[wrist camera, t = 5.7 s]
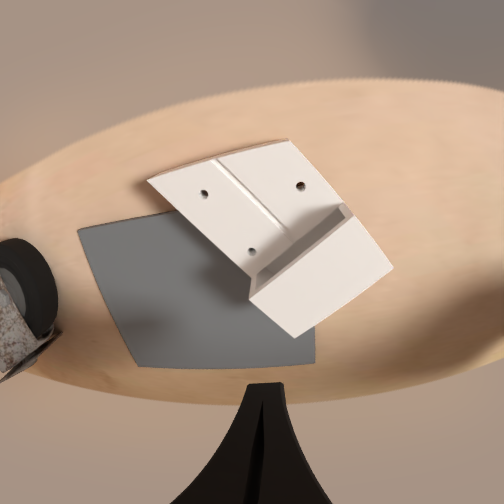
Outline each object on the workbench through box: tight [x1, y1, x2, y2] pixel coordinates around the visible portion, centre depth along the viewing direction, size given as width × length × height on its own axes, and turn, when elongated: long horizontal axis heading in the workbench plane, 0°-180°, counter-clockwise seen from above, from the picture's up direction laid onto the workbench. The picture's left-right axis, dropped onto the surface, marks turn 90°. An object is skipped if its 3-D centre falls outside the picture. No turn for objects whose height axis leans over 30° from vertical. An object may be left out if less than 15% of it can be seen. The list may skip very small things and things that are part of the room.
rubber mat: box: [78, 210, 315, 369], centre depth 18 cm, size 14×12×1 cm
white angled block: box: [147, 138, 394, 338], centre depth 13 cm, size 4×10×9 cm
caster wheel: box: [0, 238, 63, 383], centre depth 17 cm, size 7×11×10 cm
